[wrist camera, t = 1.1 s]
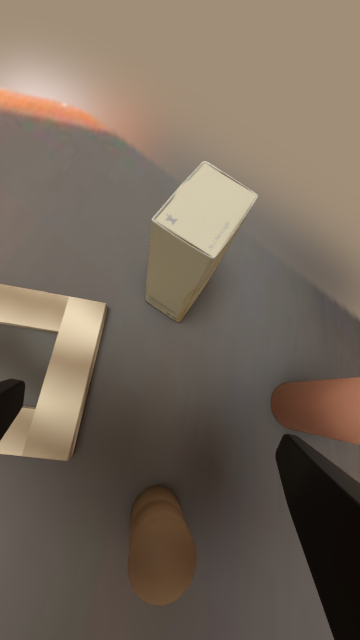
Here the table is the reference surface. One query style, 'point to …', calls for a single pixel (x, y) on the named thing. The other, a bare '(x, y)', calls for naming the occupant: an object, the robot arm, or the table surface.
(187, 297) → the skincare box
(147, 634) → the table surface
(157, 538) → the walnut dowel
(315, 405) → the orange peg
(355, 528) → the robot arm
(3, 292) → the socket block
